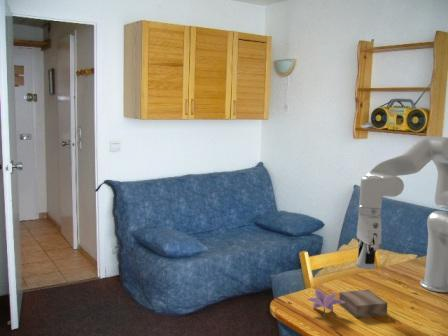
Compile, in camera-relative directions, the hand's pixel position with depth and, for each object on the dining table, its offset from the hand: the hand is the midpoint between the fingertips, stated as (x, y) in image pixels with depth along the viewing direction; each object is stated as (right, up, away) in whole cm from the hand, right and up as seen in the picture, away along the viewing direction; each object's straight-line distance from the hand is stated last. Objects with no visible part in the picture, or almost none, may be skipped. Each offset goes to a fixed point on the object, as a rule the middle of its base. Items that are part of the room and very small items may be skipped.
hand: (366, 260), depth 167 cm
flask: (0, -2, 0) cm, 2 cm away
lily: (-15, -19, -2) cm, 24 cm away
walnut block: (-1, -19, +3) cm, 19 cm away
